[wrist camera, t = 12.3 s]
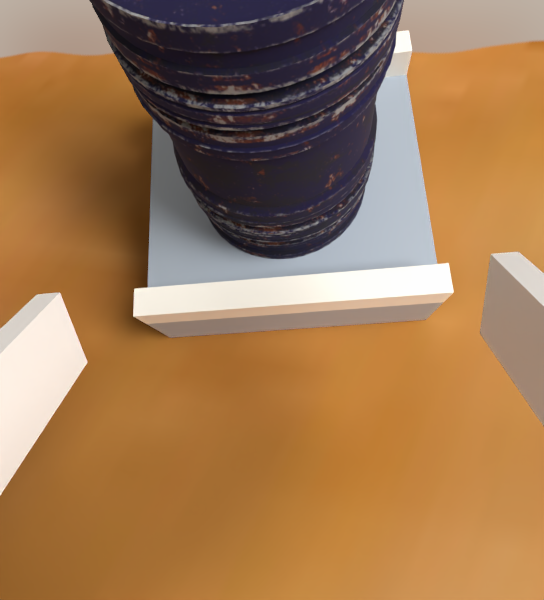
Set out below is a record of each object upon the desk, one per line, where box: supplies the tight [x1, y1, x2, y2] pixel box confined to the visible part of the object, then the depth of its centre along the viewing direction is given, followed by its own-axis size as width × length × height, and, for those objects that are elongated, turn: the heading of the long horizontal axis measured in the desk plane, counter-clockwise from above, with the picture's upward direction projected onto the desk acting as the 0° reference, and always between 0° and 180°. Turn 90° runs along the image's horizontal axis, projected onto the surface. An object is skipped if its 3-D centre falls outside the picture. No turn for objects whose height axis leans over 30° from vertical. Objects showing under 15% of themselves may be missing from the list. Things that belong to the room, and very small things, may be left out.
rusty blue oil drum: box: [90, 0, 404, 259], centre depth 19 cm, size 10×10×15 cm
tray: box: [133, 30, 453, 338], centre depth 27 cm, size 16×16×6 cm
